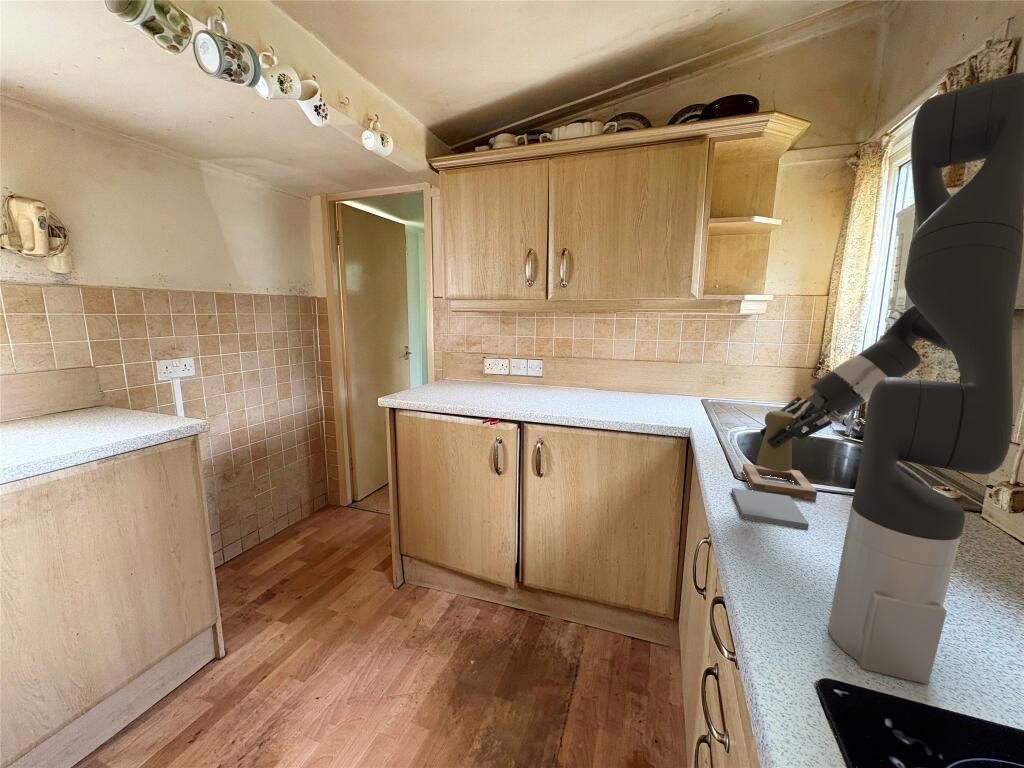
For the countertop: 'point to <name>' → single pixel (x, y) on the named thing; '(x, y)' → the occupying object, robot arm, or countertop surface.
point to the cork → (783, 454)
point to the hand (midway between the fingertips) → (766, 439)
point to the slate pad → (769, 508)
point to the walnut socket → (797, 490)
